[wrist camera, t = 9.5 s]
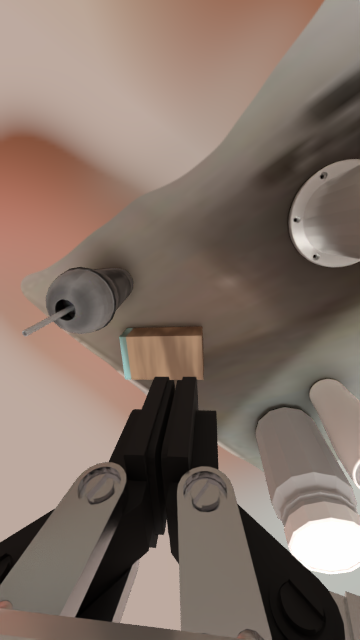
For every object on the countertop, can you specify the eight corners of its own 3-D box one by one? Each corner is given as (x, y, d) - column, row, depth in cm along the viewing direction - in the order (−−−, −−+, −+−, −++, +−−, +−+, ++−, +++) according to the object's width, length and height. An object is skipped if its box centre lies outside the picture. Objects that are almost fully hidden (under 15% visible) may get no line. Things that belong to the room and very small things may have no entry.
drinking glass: (356, 380, 40) (438, 459, 26) (336, 415, 42) (401, 506, 28) (314, 367, 40) (371, 439, 26) (296, 403, 42) (340, 487, 28)
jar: (295, 458, 45) (347, 591, 28) (244, 437, 45) (265, 558, 28) (325, 416, 42) (404, 537, 25) (271, 394, 42) (312, 500, 25)
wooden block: (201, 335, 36) (119, 337, 38) (203, 379, 38) (125, 379, 40) (202, 326, 40) (127, 327, 41) (203, 366, 42) (132, 367, 44)
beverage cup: (152, 288, 39) (97, 336, 20) (116, 315, 41) (36, 381, 22) (121, 248, 38) (31, 259, 19) (86, 278, 40) (-27, 314, 21)
